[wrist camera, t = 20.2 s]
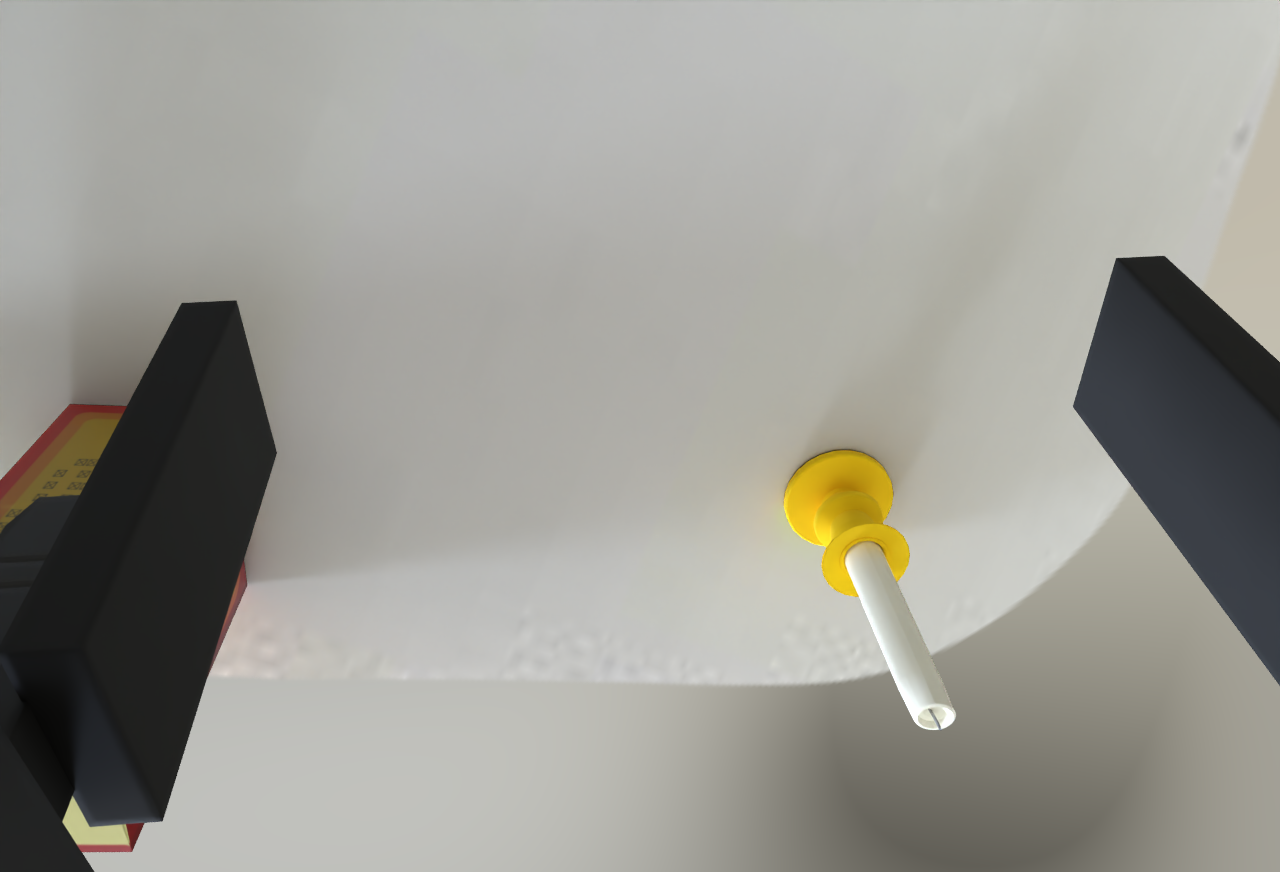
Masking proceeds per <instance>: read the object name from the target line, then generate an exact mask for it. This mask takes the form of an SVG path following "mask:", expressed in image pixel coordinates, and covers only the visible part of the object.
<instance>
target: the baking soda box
mask: <svg viewBox="0 0 1280 872" xmlns="http://www.w3.org/2000/svg"><path fill="white" fill-rule="evenodd" d="M126 407H127V406H106V405H77V404H70V405H69V406H68V407H67V408H66V409H65V410H64V411H63V412H62V413H61V414H60V416H59V417H58V418H57V419H56V420H55V421H54V422H53V423H52V424H51V425H50V427H49V428H48V429H47V430H46V431H45V432H44V433H43V434H42V435H41V436H40V438H39V439H38V440H37V441H36V442H35V443H34V444H33V445H32V446H31V447H30V449H29V450H28V451H27V452H26V453H25V454H24V455H23V456H22V457H21V458H20V460H19V461H18V462H17V463H16V464H15V465H14V466H13V467H12V468H11V469H10V471H9V472H8V473H7V474H6V475H5V476H4V477H3V478H2V479H1V480H0V533H1V531H2V530H3V528H4V526H6V525H7V524H8V523H9V522H10V521H11V520H13V519H14V518H15V517H16V516H17V515H19V514H20V513H21V512H22V511H23V510H24V509H26V508H27V507H28V506H29V505H30V504H32V503H33V502H34V501H35V500H36V499H38V498H39V497H52V496H68V495H80V494H81V492H82V490H83V488H84V486H85V484H86V482H87V480H88V479H89V477H90V475H91V473H92V471H93V469H94V467H95V465H96V463H97V462H98V460H99V458H100V456H101V454H102V452H103V450H104V448H105V447H106V445H107V443H108V441H109V439H110V437H111V435H112V433H113V432H114V430H115V428H116V426H117V424H118V422H119V420H120V418H121V416H122V415H123V413H124V411H125V409H126ZM246 587H247V579H246V571H245V563H244V560H243V564H242V567H241V570H240V573H239V576H238V580H237V583H236V586H235V589H234V593H233V596H232V599H231V602H230V605H229V609H228V612H227V615H226V618H225V622H224V625H223V628H222V631H221V634H220V638H219V641H218V644H217V647H216V650H215V654H214V657H213V660H212V663H211V667H210V670H211V668H212V666H213V663H214V661H215V659H216V656H217V654H218V652H219V649H220V647H221V645H222V642H223V640H224V638H225V635H226V633H227V631H228V629H229V626H230V624H231V622H232V619H233V617H234V615H235V612H236V610H237V608H238V605H239V603H240V601H241V598H242V596H243V594H244V591H245V589H246ZM210 670H209V672H210ZM208 675H209V673H208ZM207 677H208V676H207ZM62 822H63V824H64V825H65V827H66V829H67V830H68V832H69V833H70V835H71V836H72V838H73V839H74V841H75V842H76V844H77V846H78V847H79V849H80V850H81V852H132V851H133V848H134V846H135V844H136V841H137V839H138V837H139V834H140V832H141V830H142V827H143V825H144V823H135V824H123V825H111V826H98V827H89V825H88V823H87V821H86V819H85V817H84V816H83V814H82V812H81V810H80V808H79V806H78V805H77V803H76V801H75V799H74V797H73V796H72V799H71V801H70V804H69V806H68V809H67V811H66V814H65V816H64V819H63V821H62Z"/></svg>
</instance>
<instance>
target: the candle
mask: <svg viewBox="0 0 1280 872" xmlns="http://www.w3.org/2000/svg"><path fill="white" fill-rule="evenodd" d="M892 500H893V488H892V482H891V480H890V478H889V477H888V475H887V473H886V471H885V469H884V467H883V466H882V465H881V464H880V463H878V462H877V461H876V460H875V459H874V458H872V457H870V456H868V455H866V454H864V453H861V452H856V451H851V450H839V451H832V452H828V453H824V454H821V455H819V456H817V457H815V458H813V459H811V460H809V461H808V462H807V463H805V464H804V465H803V466H802V467H801V468H799V469H798V470H797V472H796V473H795V474H794V476H793V477H792V478H791V480H790V481H789V484H788V486H787V489H786V491H785V496H784V508H785V513H786V517H787V520H788V522H789V523H790V525H791V527H792V528H793V530H794V531H795V532H796V533H797V534H798V535H799V536H800V537H802V538H803V539H805V540H807V541H809V542H811V543H813V544H816V545H821V546H825V547H826V550H825V552H824V554H823V557H822V571H823V576H824V577H825V579H826V581H827V582H828V584H829V585H830V586H831V587H832V588H833V589H835V590H836V591H838V592H840V593H842V594H844V595H849V596H854V597H859V598H860V600H861V602H862V605H863V607H864V610H865V612H866V614H867V617H868V619H869V621H870V624H871V626H872V628H873V631H874V633H875V635H876V638H877V640H878V642H879V645H880V647H881V649H882V652H883V654H884V656H885V659H886V661H887V663H888V666H889V668H890V670H891V673H892V675H893V677H894V679H895V682H896V684H897V687H898V689H899V691H900V693H901V695H902V697H903V699H904V701H905V703H906V705H907V707H908V709H909V711H910V713H911V715H912V717H913V719H914V721H915V722H916V724H917V725H919V726H920V727H922V728H924V729H929V730H938V729H939V730H942V729H943V728H946V727H948V726H949V725H951V724H952V723H953V722H954V720H955V717H956V712H955V711H954V709H953V707H952V704H951V702H950V699H949V696H948V694H947V691H946V689H945V686H944V684H943V682H942V679H941V677H940V675H939V673H938V671H937V669H936V666H935V665H934V662H933V660H932V658H931V655H930V653H929V651H928V649H927V647H926V645H925V642H924V640H923V638H922V636H921V634H920V632H919V629H918V627H917V625H916V623H915V621H914V618H913V616H912V614H911V612H910V610H909V608H908V605H907V603H906V601H905V599H904V597H903V595H902V592H901V590H900V588H899V586H898V584H897V581H898V580H899V579H900V578H901V576H902V575H903V574H904V572H905V570H906V568H907V566H908V563H909V557H910V553H909V546H908V544H907V542H906V540H905V538H904V536H903V535H901V534H900V533H899V532H898V531H897V530H896V529H894V528H892V527H890V526H888V525H884V524H883V521H884V520H885V519H886V517H887V515H888V513H889V511H890V509H891V506H892Z"/></svg>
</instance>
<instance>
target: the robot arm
mask: <svg viewBox="0 0 1280 872" xmlns="http://www.w3.org/2000/svg"><path fill="white" fill-rule="evenodd" d="M1073 407H1074V409H1075V410H1076V412H1077V413H1078V414H1079V416H1080V417H1081V418H1082V420H1083V421H1084V422H1085V424H1086V425H1087V426H1088V428H1089V429H1090V430H1091V432H1092V433H1093V434H1094V436H1095V437H1096V438H1097V440H1098V441H1099V443H1100V444H1101V445H1102V447H1103V448H1104V449H1105V451H1106V452H1107V453H1108V455H1109V456H1110V457H1111V459H1112V460H1113V461H1114V463H1115V464H1116V465H1117V467H1118V468H1119V469H1120V471H1121V472H1122V474H1123V475H1124V476H1125V478H1126V479H1127V480H1128V482H1129V483H1130V484H1131V486H1132V487H1133V488H1134V490H1135V491H1136V492H1137V493H1138V495H1139V496H1140V498H1141V499H1142V500H1143V502H1144V503H1145V504H1146V506H1147V507H1148V509H1149V510H1150V511H1151V513H1152V514H1153V515H1154V517H1155V518H1156V519H1157V521H1158V522H1159V523H1160V525H1161V526H1162V527H1163V529H1164V530H1165V531H1166V533H1167V534H1168V536H1169V537H1170V538H1171V540H1172V541H1173V542H1174V544H1175V545H1176V546H1177V548H1178V549H1179V550H1180V552H1181V553H1182V554H1183V556H1184V557H1185V558H1186V560H1187V561H1188V563H1189V564H1190V565H1191V567H1192V568H1193V569H1194V571H1195V572H1196V573H1197V574H1198V576H1199V577H1200V578H1201V580H1202V581H1203V582H1204V584H1205V585H1206V587H1207V588H1208V589H1209V591H1210V592H1211V594H1212V595H1213V596H1214V597H1215V599H1216V600H1217V602H1218V603H1219V604H1220V606H1221V607H1222V608H1223V610H1224V611H1225V612H1226V614H1227V615H1228V616H1229V618H1230V619H1231V620H1232V622H1233V623H1234V624H1235V626H1236V627H1237V629H1238V630H1239V631H1240V633H1241V634H1242V635H1243V636H1244V638H1245V639H1246V641H1247V642H1248V643H1249V645H1250V646H1251V647H1252V649H1253V650H1254V651H1255V653H1256V654H1257V656H1258V657H1259V658H1260V659H1261V661H1262V662H1263V664H1264V665H1265V666H1266V668H1267V669H1268V670H1269V672H1270V673H1271V674H1272V676H1273V677H1274V678H1275V680H1276V681H1277V682H1278V684H1279V685H1280V362H1279V361H1278V360H1277V359H1276V358H1275V357H1274V356H1272V355H1271V354H1270V353H1269V352H1268V351H1267V350H1266V349H1265V348H1264V347H1263V346H1262V345H1260V344H1259V343H1258V342H1257V341H1256V340H1255V339H1254V338H1253V337H1252V336H1250V334H1249V333H1247V332H1246V331H1245V330H1244V329H1243V328H1242V327H1241V326H1240V325H1239V324H1238V323H1237V322H1236V321H1234V320H1233V319H1232V318H1231V317H1230V316H1229V315H1228V314H1227V313H1226V312H1225V311H1223V309H1221V308H1220V307H1219V306H1218V305H1217V304H1216V303H1215V302H1214V301H1213V300H1212V299H1210V297H1208V296H1207V295H1206V294H1205V293H1204V292H1203V291H1202V290H1201V289H1200V288H1199V287H1198V286H1197V285H1195V284H1194V283H1193V282H1192V281H1191V280H1190V279H1189V278H1188V277H1187V276H1186V275H1185V274H1183V273H1182V272H1181V271H1180V270H1179V269H1178V268H1177V267H1176V266H1175V265H1174V264H1173V263H1172V262H1170V261H1169V260H1168V259H1167V258H1166V257H1165V256H1153V257H1132V258H1116V261H1115V264H1114V267H1113V271H1112V274H1111V278H1110V281H1109V285H1108V288H1107V292H1106V295H1105V298H1104V302H1103V305H1102V309H1101V312H1100V316H1099V319H1098V322H1097V326H1096V329H1095V333H1094V336H1093V340H1092V343H1091V346H1090V350H1089V353H1088V357H1087V360H1086V364H1085V367H1084V371H1083V374H1082V377H1081V381H1080V384H1079V388H1078V391H1077V395H1076V398H1075V401H1074V405H1073ZM276 454H277V452H276V448H275V444H274V440H273V437H272V433H271V429H270V425H269V422H268V418H267V414H266V410H265V406H264V403H263V399H262V395H261V391H260V388H259V384H258V380H257V376H256V372H255V369H254V365H253V361H252V357H251V354H250V350H249V346H248V342H247V339H246V335H245V331H244V327H243V323H242V320H241V316H240V312H239V308H238V305H237V301H216V302H195V303H182V304H181V306H180V307H179V309H178V311H177V313H176V315H175V317H174V319H173V321H172V322H171V324H170V326H169V328H168V330H167V332H166V334H165V336H164V338H163V339H162V341H161V343H160V345H159V347H158V349H157V351H156V353H155V354H154V356H153V358H152V360H151V362H150V364H149V366H148V368H147V369H146V371H145V373H144V375H143V377H142V379H141V381H140V383H139V385H138V386H137V388H136V390H135V392H134V394H133V396H132V398H131V400H130V401H129V403H128V405H127V407H126V409H125V411H124V413H123V415H122V416H121V418H120V420H119V422H118V424H117V426H116V428H115V430H114V432H113V433H112V435H111V437H110V439H109V441H108V443H107V445H106V447H105V448H104V450H103V452H102V454H101V456H100V458H99V460H98V462H97V463H96V465H95V467H94V469H93V471H92V473H91V475H90V477H89V479H88V480H87V482H86V484H85V486H84V488H83V490H82V492H81V494H80V495H68V496H52V497H39V498H38V499H36V500H35V501H34V502H33V503H32V504H30V505H29V506H28V507H27V508H26V509H24V510H23V511H22V512H21V513H20V514H19V515H17V516H16V517H15V518H14V519H13V520H11V521H10V522H9V523H8V524H7V525H6V526H4V528H3V530H2V531H1V533H0V872H94V870H93V869H92V867H91V866H90V864H89V863H88V861H87V860H86V858H85V856H84V855H83V853H82V852H81V850H80V849H79V847H78V846H77V844H76V842H75V841H74V839H73V838H72V836H71V835H70V833H69V832H68V830H67V829H66V827H65V825H64V824H63V822H62V821H63V819H64V816H65V814H66V811H67V809H68V806H69V804H70V801H71V799H72V796H73V797H74V799H75V801H76V803H77V805H78V806H79V808H80V810H81V812H82V814H83V816H84V817H85V819H86V821H87V823H88V825H89V827H98V826H111V825H123V824H135V823H147V822H159V821H163V818H164V814H165V811H166V808H167V805H168V802H169V798H170V795H171V792H172V789H173V786H174V783H175V779H176V776H177V772H178V770H179V766H180V763H181V760H182V756H183V754H184V750H185V747H186V744H187V741H188V737H189V734H190V731H191V728H192V724H193V721H194V718H195V715H196V712H197V708H198V705H199V702H200V699H201V696H202V692H203V689H204V686H205V683H206V679H207V676H208V673H209V670H210V667H211V663H212V660H213V657H214V654H215V650H216V647H217V644H218V641H219V638H220V634H221V631H222V628H223V625H224V622H225V618H226V615H227V612H228V609H229V605H230V602H231V599H232V596H233V593H234V589H235V586H236V583H237V580H238V576H239V573H240V570H241V567H242V564H243V560H244V557H245V554H246V551H247V547H248V544H249V541H250V538H251V535H252V531H253V528H254V525H255V522H256V518H257V515H258V512H259V509H260V506H261V502H262V499H263V496H264V493H265V489H266V486H267V483H268V480H269V477H270V473H271V470H272V467H273V464H274V460H275V457H276Z"/></svg>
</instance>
